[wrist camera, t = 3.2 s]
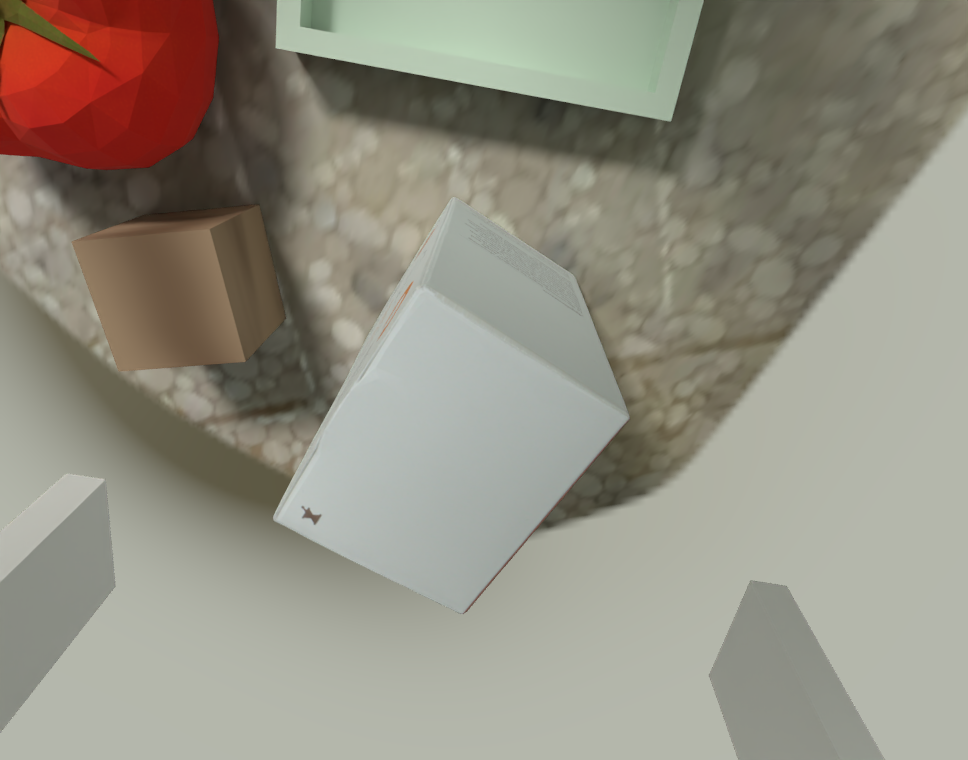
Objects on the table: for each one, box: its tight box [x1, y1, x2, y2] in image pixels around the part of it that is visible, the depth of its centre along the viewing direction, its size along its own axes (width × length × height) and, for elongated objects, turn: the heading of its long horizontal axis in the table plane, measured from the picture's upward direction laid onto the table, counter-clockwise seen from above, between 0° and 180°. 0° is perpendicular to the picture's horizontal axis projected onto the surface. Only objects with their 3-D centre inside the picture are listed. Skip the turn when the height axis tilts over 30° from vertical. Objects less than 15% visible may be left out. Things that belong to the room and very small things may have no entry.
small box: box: [273, 197, 630, 614], centre depth 22 cm, size 8×6×13 cm
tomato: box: [0, 0, 219, 170], centre depth 21 cm, size 10×11×7 cm
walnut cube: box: [72, 204, 286, 371], centre depth 26 cm, size 5×5×5 cm
